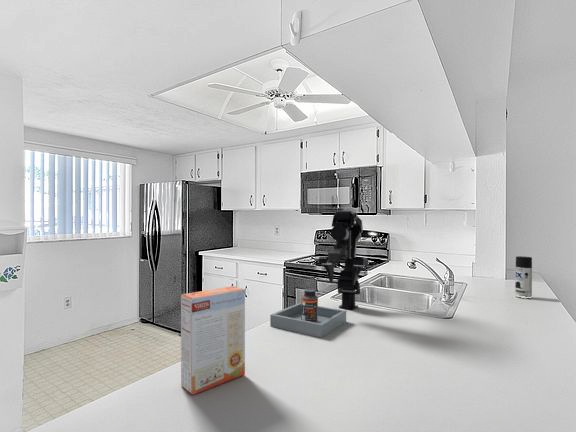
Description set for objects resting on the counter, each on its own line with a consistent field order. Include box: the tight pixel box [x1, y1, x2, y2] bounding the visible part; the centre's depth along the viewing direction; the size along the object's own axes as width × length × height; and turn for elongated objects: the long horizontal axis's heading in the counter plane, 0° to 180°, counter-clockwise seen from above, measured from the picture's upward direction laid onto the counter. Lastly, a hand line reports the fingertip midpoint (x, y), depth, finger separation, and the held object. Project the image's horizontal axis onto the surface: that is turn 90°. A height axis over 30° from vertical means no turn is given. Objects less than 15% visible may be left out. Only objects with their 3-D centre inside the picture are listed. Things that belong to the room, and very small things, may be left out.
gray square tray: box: [269, 302, 347, 338], centre depth 120 cm, size 20×20×4 cm
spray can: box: [514, 256, 533, 297], centre depth 164 cm, size 7×7×20 cm
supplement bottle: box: [300, 288, 319, 323], centre depth 120 cm, size 6×6×11 cm
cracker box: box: [180, 285, 246, 396], centre depth 77 cm, size 14×6×21 cm, turn 133°
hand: (342, 283), depth 127 cm, fingers open, 9 cm apart
